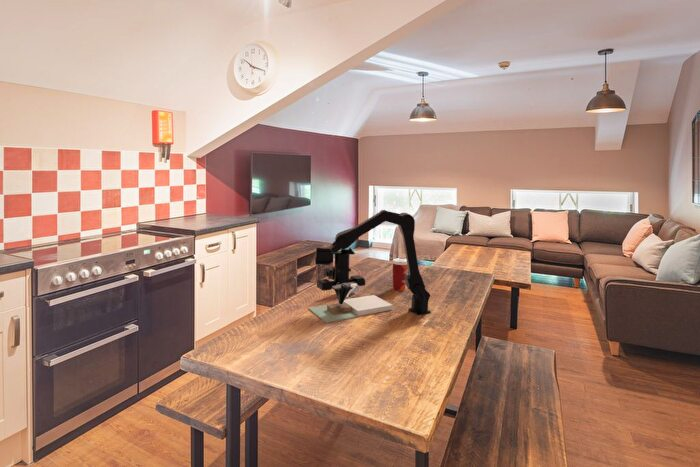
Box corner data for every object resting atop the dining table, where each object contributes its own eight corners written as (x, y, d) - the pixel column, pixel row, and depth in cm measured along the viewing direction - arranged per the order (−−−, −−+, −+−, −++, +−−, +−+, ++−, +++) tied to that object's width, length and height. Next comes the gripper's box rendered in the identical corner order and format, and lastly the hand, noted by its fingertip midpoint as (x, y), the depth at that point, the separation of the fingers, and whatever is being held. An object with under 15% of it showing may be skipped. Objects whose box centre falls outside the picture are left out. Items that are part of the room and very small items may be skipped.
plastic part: (359, 292, 187) (360, 267, 185) (347, 297, 178) (348, 271, 177) (345, 289, 191) (346, 265, 189) (333, 294, 182) (334, 269, 181)
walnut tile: (345, 307, 166) (345, 302, 165) (352, 311, 160) (352, 306, 160) (327, 309, 162) (327, 305, 161) (333, 314, 157) (333, 309, 156)
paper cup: (408, 291, 189) (409, 262, 187) (391, 291, 189) (392, 261, 187) (406, 286, 197) (407, 258, 194) (390, 286, 197) (391, 257, 194)
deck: (392, 309, 165) (392, 305, 164) (357, 316, 157) (357, 311, 157) (373, 299, 177) (373, 295, 177) (340, 304, 169) (340, 300, 169)
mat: (359, 316, 156) (359, 315, 156) (325, 322, 150) (325, 321, 150) (339, 304, 170) (339, 303, 170) (308, 308, 163) (308, 308, 163)
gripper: (352, 258, 170) (351, 294, 172) (311, 262, 161) (310, 300, 163) (366, 264, 160) (365, 303, 163) (323, 269, 151) (322, 309, 154)
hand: (340, 303), depth 161 cm, fingers closed
